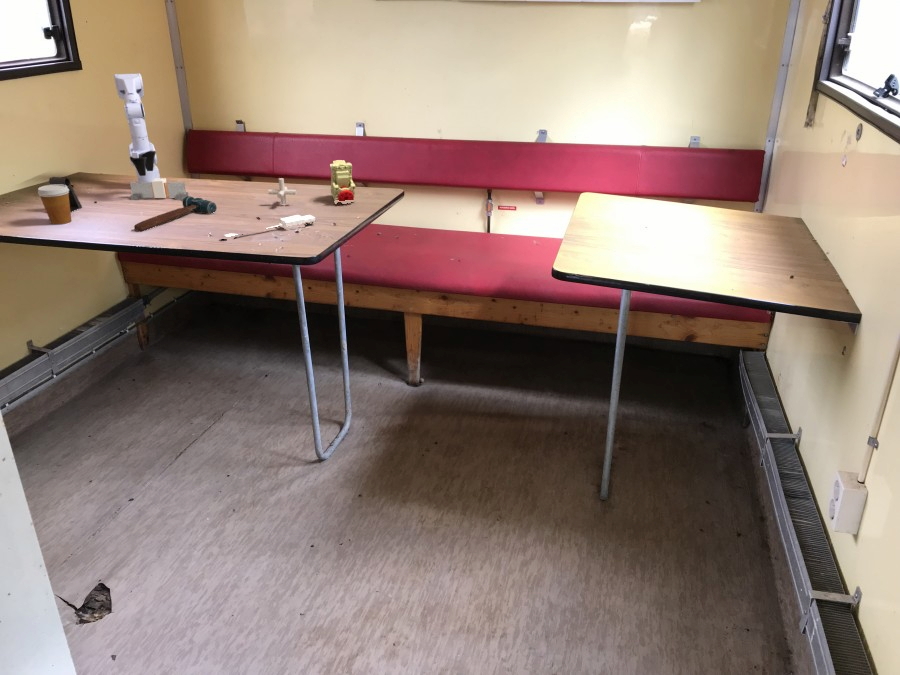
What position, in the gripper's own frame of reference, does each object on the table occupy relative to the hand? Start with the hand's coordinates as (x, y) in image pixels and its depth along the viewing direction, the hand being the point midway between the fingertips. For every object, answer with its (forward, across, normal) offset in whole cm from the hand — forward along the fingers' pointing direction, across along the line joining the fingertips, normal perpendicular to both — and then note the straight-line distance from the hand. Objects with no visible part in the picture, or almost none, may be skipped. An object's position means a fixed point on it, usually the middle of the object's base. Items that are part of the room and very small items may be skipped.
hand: (146, 173), depth 261 cm
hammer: (+10, +30, +18) cm, 37 cm away
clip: (+9, +1, +5) cm, 10 cm away
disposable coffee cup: (+9, +32, -19) cm, 39 cm away
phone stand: (+10, +18, -24) cm, 31 cm away
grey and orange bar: (+9, +1, +4) cm, 10 cm away
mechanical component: (+9, +7, +76) cm, 77 cm away
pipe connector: (+9, +12, +54) cm, 56 cm away
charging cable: (+10, +43, +55) cm, 71 cm away
